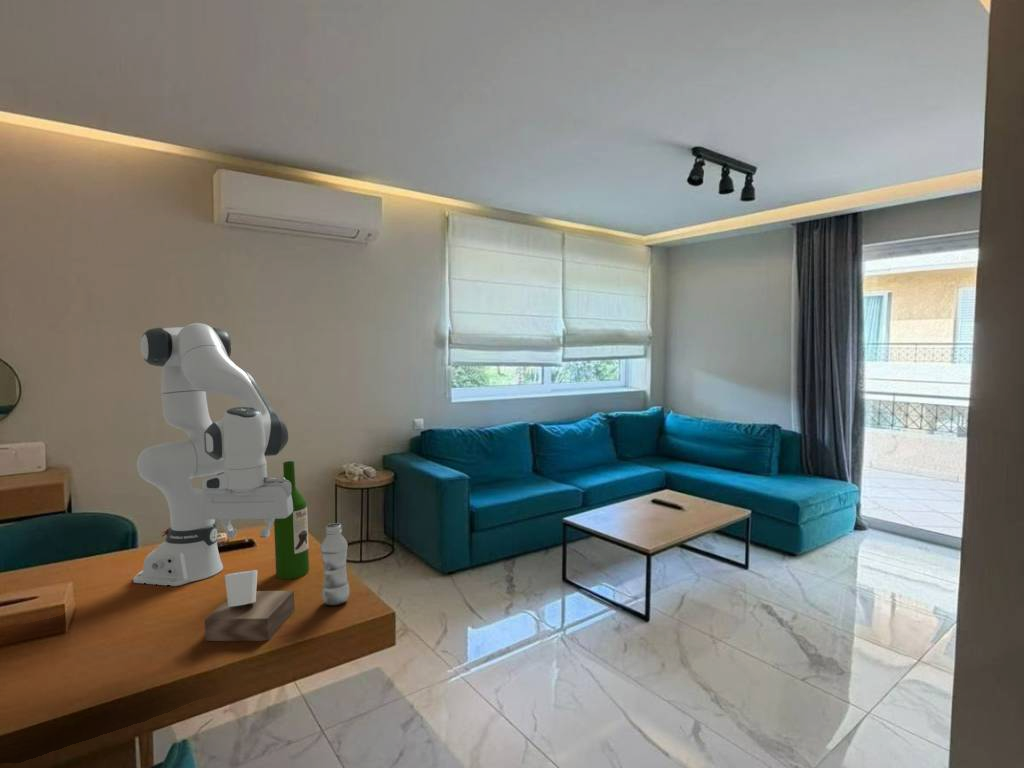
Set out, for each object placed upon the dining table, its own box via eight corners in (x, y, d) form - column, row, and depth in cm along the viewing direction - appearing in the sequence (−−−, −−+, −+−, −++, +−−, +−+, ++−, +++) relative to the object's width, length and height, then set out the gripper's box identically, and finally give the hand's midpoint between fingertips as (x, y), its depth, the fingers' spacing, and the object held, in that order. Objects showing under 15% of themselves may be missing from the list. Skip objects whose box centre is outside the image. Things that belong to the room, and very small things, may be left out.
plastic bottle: (354, 601, 137) (352, 524, 136) (330, 611, 132) (327, 531, 131) (341, 594, 141) (339, 519, 140) (317, 603, 136) (314, 526, 135)
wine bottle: (296, 580, 150) (291, 465, 149) (269, 577, 153) (264, 464, 151) (315, 568, 159) (311, 459, 157) (289, 565, 161) (285, 458, 159)
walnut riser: (205, 641, 119) (204, 619, 119) (238, 611, 133) (237, 591, 133) (268, 640, 119) (267, 618, 118) (294, 610, 133) (293, 590, 132)
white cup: (258, 599, 128) (257, 569, 130) (258, 602, 122) (257, 570, 124) (225, 605, 125) (225, 574, 127) (224, 608, 119) (223, 575, 121)
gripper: (296, 474, 127) (298, 531, 128) (210, 475, 127) (213, 532, 128) (285, 480, 121) (287, 541, 121) (194, 481, 121) (197, 542, 121)
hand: (248, 536), depth 125 cm, fingers open, 6 cm apart
